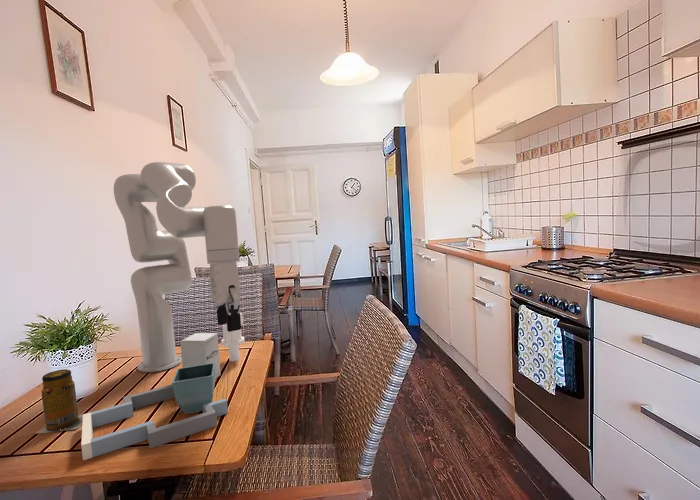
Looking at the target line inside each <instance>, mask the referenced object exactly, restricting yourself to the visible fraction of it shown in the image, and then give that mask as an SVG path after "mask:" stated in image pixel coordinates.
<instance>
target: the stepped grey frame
mask: <svg viewBox="0 0 700 500" xmlns="http://www.w3.org/2000/svg"><path fill="white" fill-rule="evenodd" d="M173 398H176V397H175V394H174V389H173V385H172V384H167V385H164V386H161V387H156V388H153V389H149V390H145V391H141V392H138V393H134V394H129V395H126V396H123V403H120V404H116V405H112V406H109V407H106V408H102V409H98V410H94V411H90V412H87V413H84V414H83V423H82V425H81V427H82V428H81V429H82V430H81V443H80V447H81V454H82V461H86V460H89V459H92V458H96V457H99V456H101V455H104V454H107V453H111V452H114V451H116V450H119V449H122V448H126V447H129V446H131V445H136V444H137V443H138V444H139V443H140V442H144V441H146V440H147V442H148V445H149V448H150V449H152V448H156V447H159V446H161V445H165V444H168V443H170V442H174V441H176V440H179V439H182V438H185V437H187V436H188V437H189V436H191V435H193V434H197V433H201V432H202V431H207V430H209V429H211V428H214V427H218V421H217V420H218V419H217V417H220V416H224V415H226V414H227V415H228V414H229V410H228V408H229V407H228V400H227V399H226V398H222V399H218V400H216V401H215V400H214V401H212V402H211V403H208V404H205V405H203V411H202V412H203V413H199V414H196V415H193V416H190V417H187V418H184V419H180V420H177V421H174V422H170V423H168V424H165V425H161V426H158V427H156V424H155V423H156V422H155V421H154V419H153V420H150V421H146V422H142V423H139V424H137V425H132V426H130V427H127V428H124V429H119V430H117V431H113V432H110V433H107V434H103V435H100V436H97V437H93V435H94V434H93V432H94V430H93V428H97V427H100V426H104V425H107V424H110V423H114V422H118V421H121V420H124V419H128V418H131V417H134V416H135V415H134V410H135V409H139V408H142V407H145V406H149V405H152V404H156V403H160V402H164V401H168V400H171V399H173Z"/></svg>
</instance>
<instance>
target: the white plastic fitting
mask: <svg viewBox="0 0 700 500" xmlns="http://www.w3.org/2000/svg"><path fill="white" fill-rule="evenodd" d="M240 319H241V326H242V325H244V322H243V321H244V320H243V319H244V318H243V313H242V312H240ZM222 333H223V334H222V335H223V339H221V346H223V347H226V348H227V347H228V358H229V359H228V360H229V362H237V361H239V360H240V348H239V346H240V345H242V344H244V343H245V337H244V336H242V334H243V333H242V328H241V329H240V330H236V331H231V332H228V331H227V324H222Z"/></svg>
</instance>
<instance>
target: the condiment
mask: <svg viewBox="0 0 700 500" xmlns="http://www.w3.org/2000/svg"><path fill="white" fill-rule="evenodd" d="M41 381H42V386H43V387H42V389H41V400H42V409H43V416H44V417H43V418H44V425H45V426H43V427H42V428H41V429H39V430H38V431H37V432H35V434H36V435H37V434H45V433H49V434H50V433H55V432H56V433H57V432H60V431H61V432H64V431H69V430H78V428H80V427H82V423H83V414H79V411H78V410H79V409H78V402H77V401H78V400H77V394H76V393H77V392H76V385H75V381H74V380H73V375H72V370H70V369H68V368H67V369H59V370H53V371H51V372H47V373H46V374H44V375H43V376H42V378H41ZM65 428H67V429H65ZM60 429H61V430H60ZM62 429H63V430H62Z"/></svg>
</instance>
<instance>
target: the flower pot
mask: <svg viewBox="0 0 700 500" xmlns="http://www.w3.org/2000/svg"><path fill="white" fill-rule="evenodd" d="M171 383H172V385H173V389H174V394H175V397H174V398H175V401H176V403H177V405H178V407H179V408H180V409H181V411H182V412H184V413H185V414H186V415H187V414H193V413H199V412H203V405H205V404H208V403H211V402H213V399H214V391H215V385H216V384H215V383H216V379H215V363H209V364H203V365H197V366H191V367H185V368H183V367H180V368H177V369H176V371H175V375H174V376H173V379H172V380H171Z"/></svg>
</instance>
